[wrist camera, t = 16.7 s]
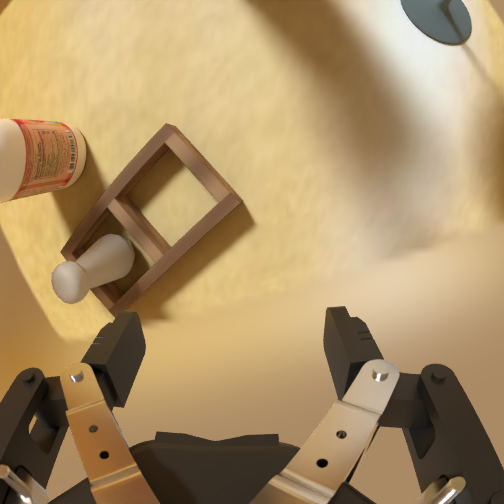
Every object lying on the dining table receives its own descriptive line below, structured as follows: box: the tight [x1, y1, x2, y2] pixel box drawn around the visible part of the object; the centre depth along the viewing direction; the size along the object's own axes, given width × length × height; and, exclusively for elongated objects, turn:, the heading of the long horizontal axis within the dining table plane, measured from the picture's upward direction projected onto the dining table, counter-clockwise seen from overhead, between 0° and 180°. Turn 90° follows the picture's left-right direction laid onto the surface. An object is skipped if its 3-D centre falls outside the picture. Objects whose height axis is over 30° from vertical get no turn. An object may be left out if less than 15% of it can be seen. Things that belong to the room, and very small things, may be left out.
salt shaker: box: [51, 234, 135, 304], centre depth 33 cm, size 6×6×13 cm
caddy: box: [61, 124, 243, 318], centre depth 37 cm, size 12×22×3 cm, turn 132°
